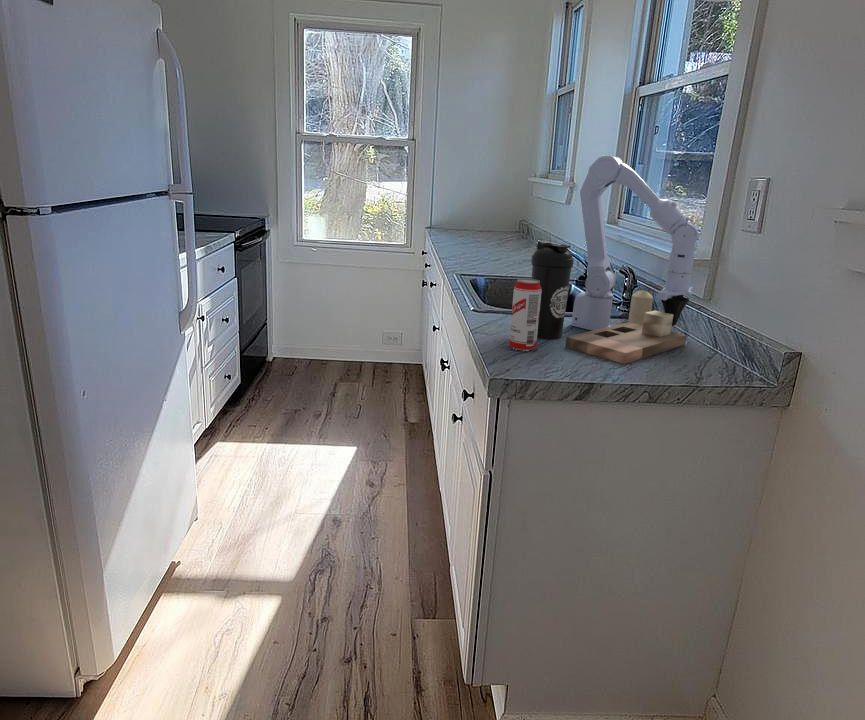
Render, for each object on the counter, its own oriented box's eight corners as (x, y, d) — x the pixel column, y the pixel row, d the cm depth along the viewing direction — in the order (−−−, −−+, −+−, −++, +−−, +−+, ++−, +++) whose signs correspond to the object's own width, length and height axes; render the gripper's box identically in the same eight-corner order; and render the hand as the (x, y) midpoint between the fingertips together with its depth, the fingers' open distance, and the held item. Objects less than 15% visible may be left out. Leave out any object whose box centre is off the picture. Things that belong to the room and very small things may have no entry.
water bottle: (547, 342, 158) (557, 247, 151) (516, 332, 165) (524, 241, 159) (573, 336, 165) (584, 245, 158) (541, 327, 172) (550, 240, 165)
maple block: (641, 332, 162) (644, 312, 161) (651, 329, 166) (654, 310, 164) (660, 336, 159) (663, 316, 157) (670, 334, 162) (673, 314, 161)
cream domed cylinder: (649, 330, 176) (655, 293, 173) (628, 328, 177) (633, 291, 174) (647, 325, 181) (652, 290, 178) (626, 323, 182) (631, 288, 179)
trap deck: (565, 347, 155) (566, 336, 154) (627, 331, 173) (629, 321, 173) (624, 363, 144) (626, 353, 143) (684, 344, 162) (686, 335, 162)
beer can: (518, 353, 148) (525, 283, 143) (503, 346, 153) (509, 278, 148) (541, 351, 150) (548, 282, 146) (525, 343, 156) (531, 277, 151)
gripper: (680, 276, 155) (671, 332, 159) (707, 272, 165) (698, 324, 169) (653, 272, 160) (645, 325, 164) (681, 268, 170) (673, 318, 174)
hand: (670, 324), depth 167 cm, fingers closed
